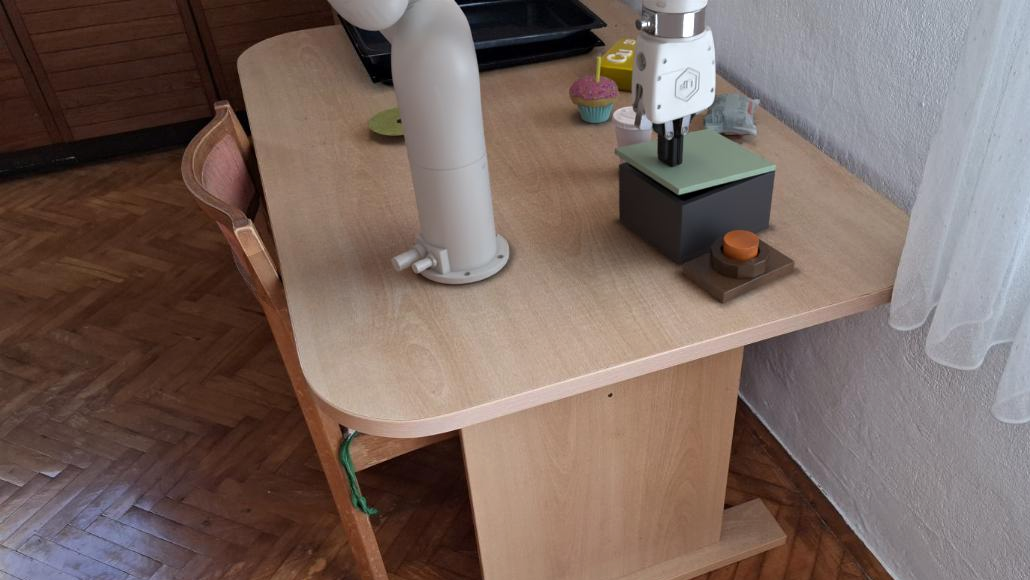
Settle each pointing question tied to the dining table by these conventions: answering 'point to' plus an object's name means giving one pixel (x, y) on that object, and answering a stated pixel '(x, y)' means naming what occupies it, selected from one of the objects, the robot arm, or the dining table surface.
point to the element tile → (619, 63)
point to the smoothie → (628, 129)
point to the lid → (697, 162)
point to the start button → (740, 245)
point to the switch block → (736, 271)
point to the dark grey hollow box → (692, 211)
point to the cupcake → (594, 96)
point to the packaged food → (731, 115)
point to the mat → (387, 122)
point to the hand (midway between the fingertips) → (669, 161)
